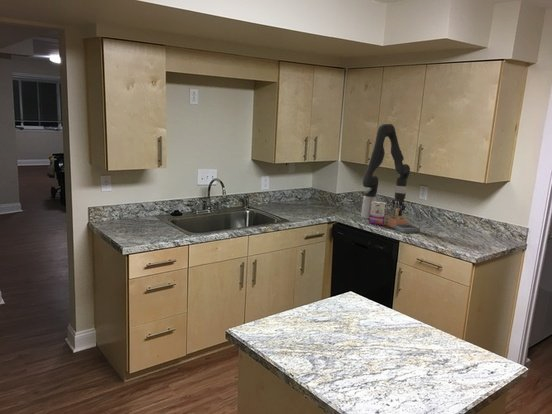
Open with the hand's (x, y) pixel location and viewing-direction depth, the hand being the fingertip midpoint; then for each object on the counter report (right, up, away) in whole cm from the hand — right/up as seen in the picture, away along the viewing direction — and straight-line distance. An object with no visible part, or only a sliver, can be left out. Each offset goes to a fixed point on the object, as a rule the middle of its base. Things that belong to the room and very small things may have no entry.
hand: (397, 215), depth 331 cm
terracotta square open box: (0, -8, +2) cm, 9 cm away
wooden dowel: (0, -9, +2) cm, 9 cm away
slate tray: (+4, -11, -8) cm, 14 cm away
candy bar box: (-14, -7, +7) cm, 17 cm away
